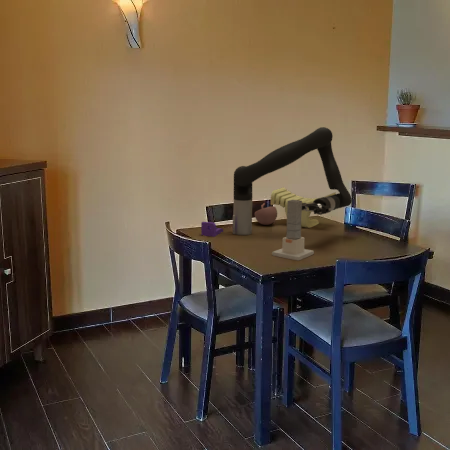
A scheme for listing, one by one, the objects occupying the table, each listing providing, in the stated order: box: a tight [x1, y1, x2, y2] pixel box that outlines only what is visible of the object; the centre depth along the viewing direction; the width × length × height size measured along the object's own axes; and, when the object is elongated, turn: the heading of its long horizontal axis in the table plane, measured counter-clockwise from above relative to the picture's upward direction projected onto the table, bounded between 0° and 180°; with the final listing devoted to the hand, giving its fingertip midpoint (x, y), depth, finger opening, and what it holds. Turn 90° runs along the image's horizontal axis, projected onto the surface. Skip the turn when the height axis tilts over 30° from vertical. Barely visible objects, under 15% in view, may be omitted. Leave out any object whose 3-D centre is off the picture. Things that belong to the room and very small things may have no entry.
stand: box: [271, 236, 315, 262], centre depth 248 cm, size 13×13×8 cm
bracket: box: [201, 221, 224, 238], centre depth 286 cm, size 12×7×7 cm, turn 159°
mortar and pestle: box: [254, 202, 278, 226], centre depth 306 cm, size 12×12×12 cm
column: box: [286, 200, 302, 240], centre depth 246 cm, size 5×5×22 cm
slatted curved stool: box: [270, 186, 337, 229], centre depth 305 cm, size 30×16×18 cm, turn 59°
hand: (306, 210), depth 252 cm, fingers open, 8 cm apart
